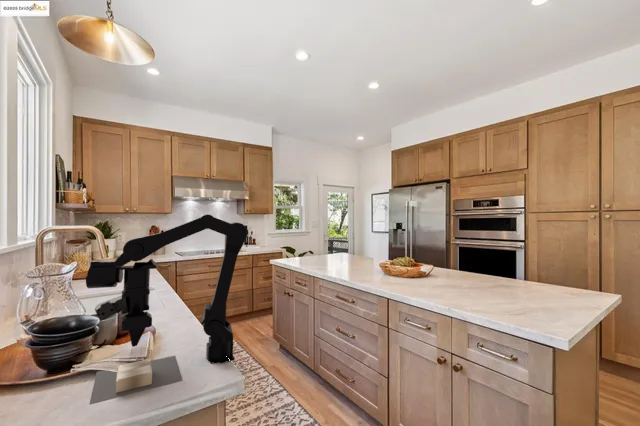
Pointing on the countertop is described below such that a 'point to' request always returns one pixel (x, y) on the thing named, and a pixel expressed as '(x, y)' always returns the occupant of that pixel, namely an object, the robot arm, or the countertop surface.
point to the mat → (162, 375)
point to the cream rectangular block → (133, 375)
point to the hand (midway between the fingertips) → (134, 345)
